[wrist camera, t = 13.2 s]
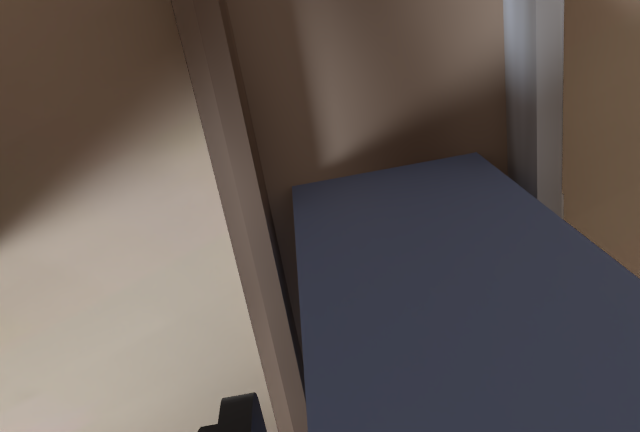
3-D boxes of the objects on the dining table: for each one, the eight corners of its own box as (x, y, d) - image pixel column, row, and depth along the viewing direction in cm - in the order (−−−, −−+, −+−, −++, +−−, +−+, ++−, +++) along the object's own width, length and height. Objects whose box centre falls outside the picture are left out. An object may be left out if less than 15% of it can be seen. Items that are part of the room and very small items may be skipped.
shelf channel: (311, 544, 21) (315, 622, 18) (155, -97, 13) (122, -122, 10) (539, 504, 21) (575, 575, 18) (534, -163, 13) (600, -204, 10)
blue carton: (338, 417, 17) (405, 895, 8) (291, 186, 14) (314, 529, 5) (496, 387, 17) (745, 832, 8) (483, 150, 14) (858, 430, 5)
